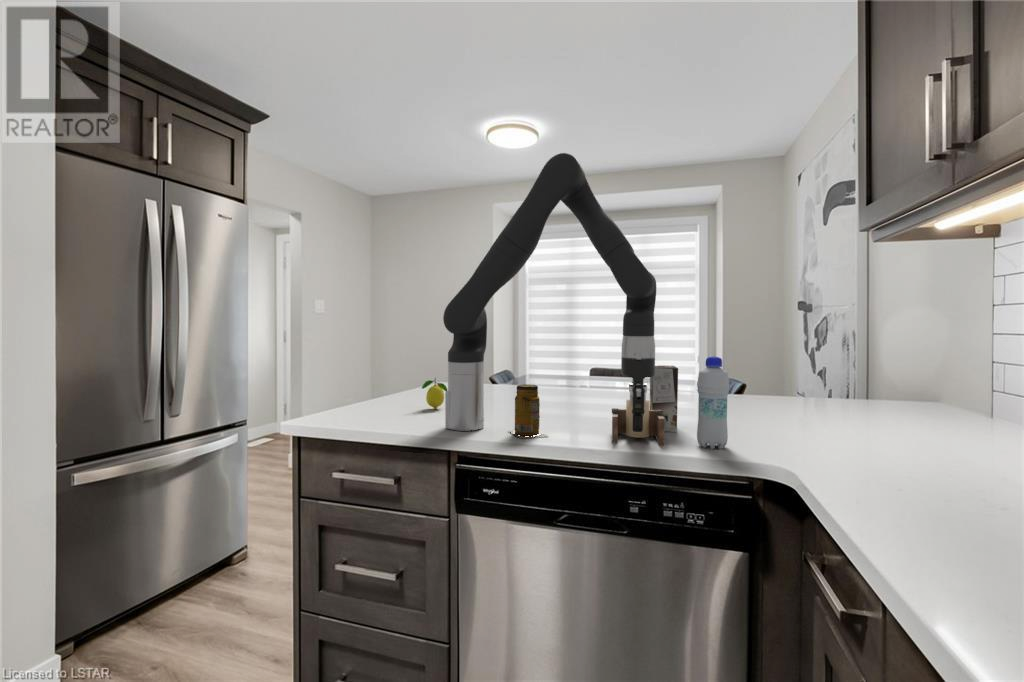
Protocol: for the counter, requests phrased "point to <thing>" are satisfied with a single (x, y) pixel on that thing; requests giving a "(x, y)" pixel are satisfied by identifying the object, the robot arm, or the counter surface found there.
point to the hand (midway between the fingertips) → (637, 428)
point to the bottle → (712, 404)
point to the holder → (654, 424)
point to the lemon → (435, 393)
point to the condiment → (527, 412)
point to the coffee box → (665, 394)
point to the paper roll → (630, 420)
